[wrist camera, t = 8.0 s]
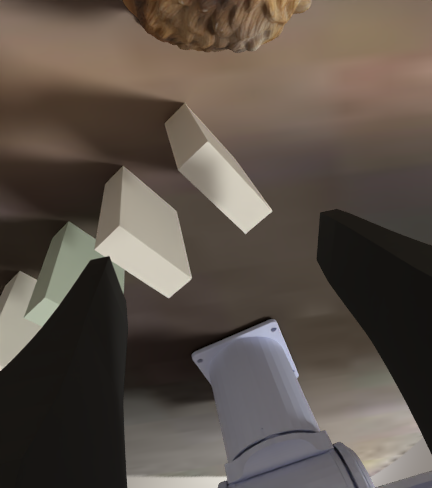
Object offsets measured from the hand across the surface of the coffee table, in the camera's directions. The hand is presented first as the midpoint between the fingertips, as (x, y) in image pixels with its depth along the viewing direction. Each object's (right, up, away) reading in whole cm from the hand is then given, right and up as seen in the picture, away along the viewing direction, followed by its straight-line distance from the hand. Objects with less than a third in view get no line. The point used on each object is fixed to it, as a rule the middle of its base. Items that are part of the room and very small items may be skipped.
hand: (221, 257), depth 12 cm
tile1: (-1, +6, +8) cm, 11 cm away
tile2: (-5, +3, +10) cm, 11 cm away
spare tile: (-8, 0, +11) cm, 14 cm away
